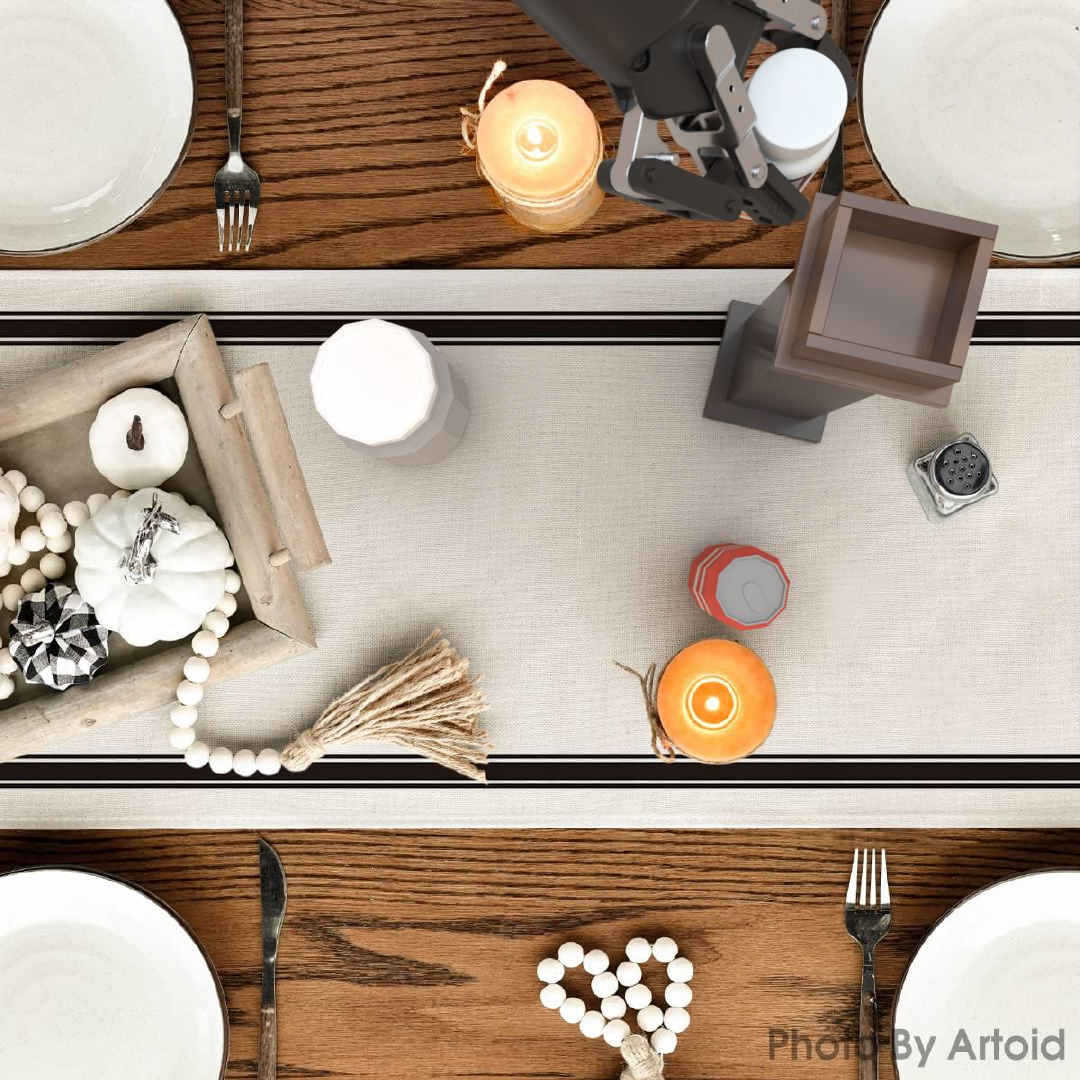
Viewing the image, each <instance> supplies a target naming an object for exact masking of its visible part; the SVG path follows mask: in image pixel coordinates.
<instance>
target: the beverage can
mask: <svg viewBox="0 0 1080 1080" xmlns="http://www.w3.org/2000/svg"><path fill="white" fill-rule="evenodd" d="M785 571H786V570H785V569H784V568H783V565H782V563H781V561H780V560H779V558H778V557H776V556H775V555H772V554H770V553H769V552H766V551H764V550H762V549H760V548H759V547H756V546H754V545H749V544H748V545H747V544H742V543H736V542H726V543H719V544H713V545H708V546H706V547H705V548H704V549H703V550H702V551H701V552H700V553H699V554H698V555H697V556H696V557H695V558H694V559H693V560H692V561H691V562H690V567H689V574H688V580H687V589H689V592H690V594H691V596H692V597H693V600H694V601H695V603H696V605H697V607H699V608H700V610H703V611H704V612H705V613H707V614H708V615H710V616H711V617H713V618H714V619H716V620H718V621H719V622H722V623H724V624H726V625H727V626H730V627H731V628H733V629H735V630H737V631H739V632H743V631H744V632H745V631H750V630H755V629H756V630H757V629H761V628H767V627H769V626H770V625H771V624H772V623H773V622H774V621H775V620H776V619H777V618H778V616H779V615H781V613H782V612H784V610H786V608H787V605H788V604H787V603H788V597H789V590H790V583H791V581H790V579H789V577H788V575H787V573H786V572H785Z"/></svg>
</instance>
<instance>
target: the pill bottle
mask: <svg viewBox="0 0 1080 1080" xmlns="http://www.w3.org/2000/svg"><path fill="white" fill-rule="evenodd" d="M743 85H744V87H745V90H746V92H747V94H748V97H749V99H750V101H751V104H752V106H753V108H754V111H755V113H756V115H757V122H756V124H755V125H754V127H753V128H752V130H753V133H754V135H755V137H756V140H757V142H758V144H759V146H760V149H761V151H762V153H763V156H764V158H765V160H766V163H773V164H774V165H775V166H776V167H777V168H778V170H779V171H780V172H781V173H782V174H783V175H784V176H785V177H786V178H787V179H788V180H789V181H790V182H791V183H792V184H793V185H794V186H795V187H796V188H797V189H798V190H799V191H800V192H801V193H802V192H803V190H805V188H806V187H807V185H808V184H809V183H810V182H811V180H812V179H813V177H814V176H815V175H816V173H817V172H818V171H819V170H820V169H821V167H822V166H823V164H824V163H825V162H826V161H827V160H828V158H829V157H830V155H831V154H832V153H833V150H834V148H835V146H836V143H837V140H838V138H839V133H840V126H841V124H842V122H843V120H844V117H845V114H846V111H847V88H846V84H845V81H844V78H843V76H842V74H841V72H840V70H839V69H838V68H837V66H836V65H835V64H834V63H833V62H832V61H831V60H830V59H829V58H827V57H826V56H825V55H823V54H821V53H819V52H817V51H814V50H810V49H806V48H791V49H786V50H783V51H780V52H778V53H776V54H774V53H773V54H772V55H771V56H769V57H768V58H766V59H765V60H764V61H763V62H762V63H761V64H760V65H759V66H758V67H757V68H756V70H755V71H754V73H753V75H752V76H751V77H748V79H747V80H745V82H743ZM722 150H723V152H724V154H725V156H726V157H729V155H728V153H727V152H726V150H725V149H723V148H722ZM739 218H741V219H744V220H749V221H753V220H752V219H751V218H750V217H749V216H748V215H747V214H746V212H744V211H743V210H742V212H741V214H740V216H739Z"/></svg>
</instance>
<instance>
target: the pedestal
mask: <svg viewBox="0 0 1080 1080" xmlns="http://www.w3.org/2000/svg"><path fill="white" fill-rule="evenodd" d="M792 274H793V270H791V272H790V273H789V274H788V275H787V276H786V277H785V278H784V279H783V280H782V281H781V282H780V283H779V284H778V286H777V287H776V288H775V289H774V290H773V291H772V292H771V293H770V294H769V295H768V296H767V297H766V298H765V300H764V301H762V303H761V304H760V305H758V304H755V303H750V302H746V301H742V300H737V299H731V300H730V301H729V304H728V308H727V311H726V316H725V320H724V323H723V328H722V333H721V337H720V341H719V344H718V349H717V353H716V357H715V362H714V365H713V370H712V373H711V379H710V383H709V386H708V391H707V395H706V399H705V403H704V407H703V412H702V416H701V417H702V418H703V419H708V420H712V421H716V422H720V423H724V424H729V425H732V426H738V427H741V428H746V429H750V430H751V429H752V430H755V431H760V432H764V433H768V434H772V435H776V436H781V437H786V438H790V439H794V440H798V441H802V442H807V443H811V444H815V445H817V444H821V442H822V438H823V436H824V435H823V434H824V430H825V426H826V422H827V417H828V414H829V413H832V412H834V411H837V410H839V409H842V408H845V407H848V406H850V405H853V404H855V403H857V402H861V401H864V400H866V399H867V398H870V397H871V398H872V397H874V396H876V395H877V394H873V393H869V392H864V391H860V390H856V389H851V388H847V387H843V386H838V385H834V384H830V383H825V382H821V381H817V380H812V379H808V378H804V377H799V376H795V375H791V374H786V373H782V372H778V371H773V370H770V365H771V361H772V357H773V352H774V348H775V344H776V340H777V336H778V332H779V328H780V324H781V319H782V315H783V311H784V307H785V303H786V299H787V295H788V290H789V286H790V282H791V278H792Z"/></svg>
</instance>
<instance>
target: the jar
mask: <svg viewBox="0 0 1080 1080" xmlns="http://www.w3.org/2000/svg"><path fill="white" fill-rule="evenodd" d="M309 381H310V387H311V391H312V396H313V400H314V405H315V406H314V407H315V410H316V411H317V413H318V414H319V415H320V416H321V417H322V418H323V419H324V423H326V424H327V425H328V427H330V429H331V430H332V431H333V432H334V433H335V434H336V435H337V437H338V438H339V439H340V440H341V441H342V443H343V444H345V446H346V447H347V448H348V449H351V450H353V451H357V452H360V453H363V454H365V455H369V456H371V457H374V458H378V459H380V460H384V461H387V462H391V463H393V464H397V465H401V466H404V467H407V468H413V467H414V468H415V467H418V466H423V465H424V466H425V465H428V464H434V463H438V462H440V461H441V460H442V459H444V457H446V456H448V454H450V453H451V451H453V450H454V449H455V448H456V447H457V446H458V445H459V444H461V442H462V440H463V437H464V435H465V432H466V429H467V426H468V423H469V420H470V417H471V413H472V412H471V408H470V402H469V397H468V391H467V387H466V384H465V382H464V380H463V379H462V378H461V377H460V375H459V374H458V373H457V372H456V370H455V369H454V368H453V367H452V365H451V363H449V361H448V360H447V358H445V357H444V356H443V354H442V353H441V352H440V351H439V349H438V348H437V347H435V345H434V344H433V342H431V340H430V339H429V338H428V336H426V335H425V334H424V333H423V332H421V331H417V330H415V329H411V328H408V327H406V326H403V325H399V324H396V323H394V322H390V321H389V322H388V321H386V320H383V319H380V318H377V317H376V318H375V317H374V318H370V319H364V320H360V321H356V322H351V323H346V324H343V325H342V326H341V327H340V328H339V329H338V330H337V331H335V333H333V334H332V335H331V336H329V338H328V339H327V340H325V341H324V342H323V343H322V344H321V345H319V348H318V351H317V355H316V358H315V360H314V363H313V366H312V368H311V372H310V376H309Z"/></svg>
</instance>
